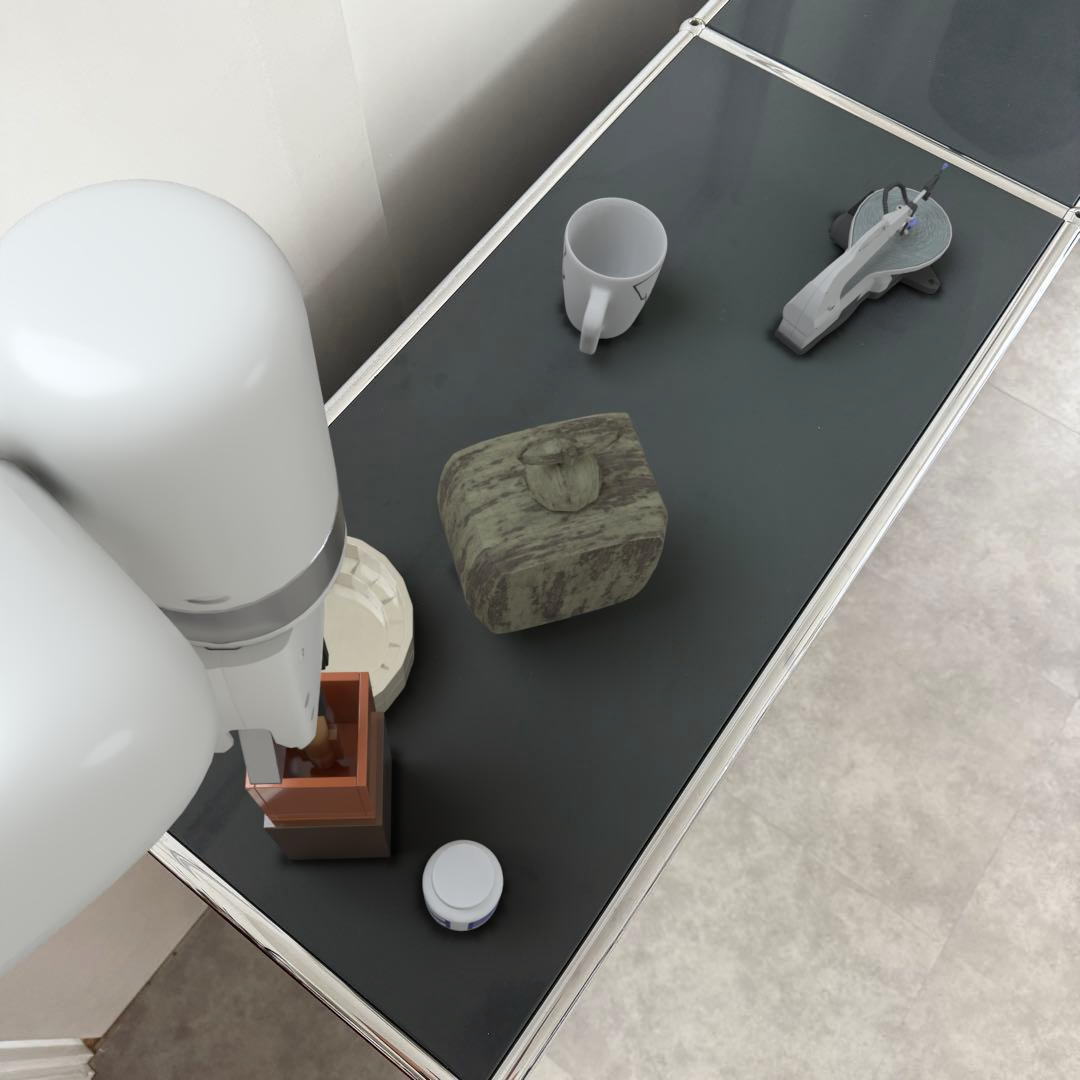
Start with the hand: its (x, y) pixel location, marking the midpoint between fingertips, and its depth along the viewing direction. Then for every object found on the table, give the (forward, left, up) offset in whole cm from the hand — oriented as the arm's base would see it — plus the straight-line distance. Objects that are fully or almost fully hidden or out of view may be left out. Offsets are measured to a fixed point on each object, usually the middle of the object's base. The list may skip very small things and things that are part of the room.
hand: (293, 686), depth 52 cm
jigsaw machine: (+45, +46, -30) cm, 72 cm away
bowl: (-2, +12, -30) cm, 32 cm away
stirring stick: (0, 0, -14) cm, 14 cm away
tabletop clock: (+15, +17, -30) cm, 38 cm away
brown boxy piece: (0, 0, -30) cm, 30 cm away
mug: (+21, +42, -30) cm, 56 cm away
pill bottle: (+8, -6, -30) cm, 32 cm away
